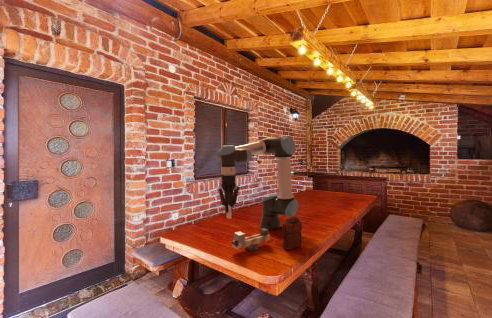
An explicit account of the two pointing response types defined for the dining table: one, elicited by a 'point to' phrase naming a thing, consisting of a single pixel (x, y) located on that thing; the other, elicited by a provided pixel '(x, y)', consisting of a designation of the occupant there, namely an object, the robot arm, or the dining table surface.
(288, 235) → the wooden figurine
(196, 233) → the dining table surface
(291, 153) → the robot arm
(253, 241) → the beam
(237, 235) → the block
